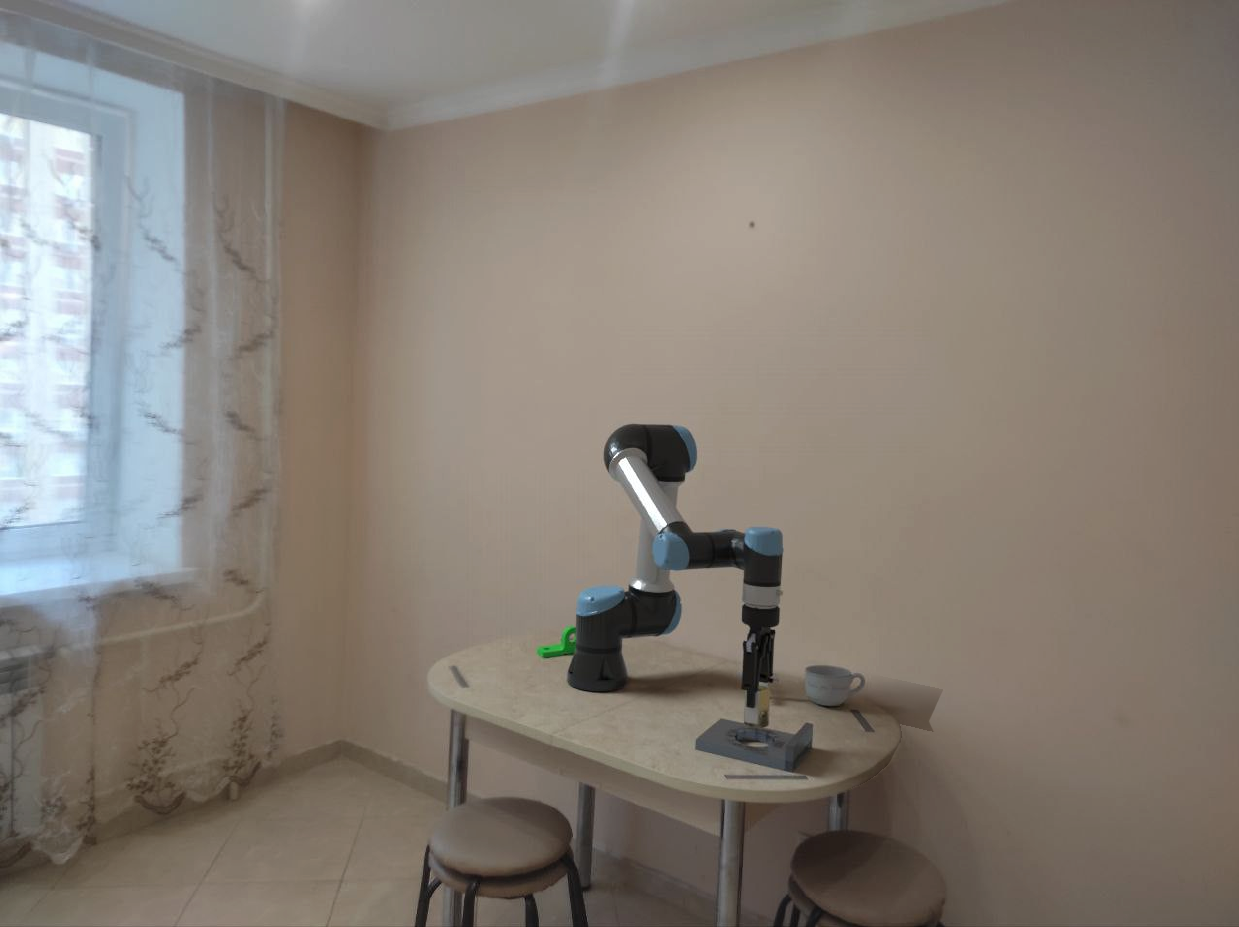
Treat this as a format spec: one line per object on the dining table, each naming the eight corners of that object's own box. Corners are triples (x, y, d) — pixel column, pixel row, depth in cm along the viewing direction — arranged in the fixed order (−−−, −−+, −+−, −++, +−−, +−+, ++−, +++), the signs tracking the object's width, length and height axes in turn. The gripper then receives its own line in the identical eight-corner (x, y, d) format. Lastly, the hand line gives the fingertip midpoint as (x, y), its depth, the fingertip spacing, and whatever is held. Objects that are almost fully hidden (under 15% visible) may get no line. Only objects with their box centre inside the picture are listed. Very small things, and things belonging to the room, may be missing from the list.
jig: (695, 748, 167) (696, 724, 167) (720, 727, 180) (721, 704, 179) (792, 772, 158) (793, 746, 158) (812, 747, 170) (813, 723, 170)
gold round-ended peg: (740, 724, 167) (741, 690, 167) (748, 717, 172) (749, 683, 171) (764, 729, 165) (765, 694, 164) (772, 721, 169) (773, 687, 169)
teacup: (800, 705, 195) (802, 672, 195) (806, 692, 205) (808, 660, 205) (862, 715, 190) (863, 680, 190) (865, 700, 201) (866, 668, 200)
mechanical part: (571, 649, 235) (572, 621, 235) (581, 655, 230) (582, 626, 230) (533, 654, 229) (534, 625, 229) (542, 660, 224) (543, 630, 224)
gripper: (764, 615, 157) (759, 736, 158) (792, 599, 173) (787, 708, 174) (727, 610, 161) (722, 728, 162) (757, 594, 177) (752, 702, 178)
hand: (755, 717), depth 168 cm, fingers closed on gold round-ended peg, 5 cm apart
